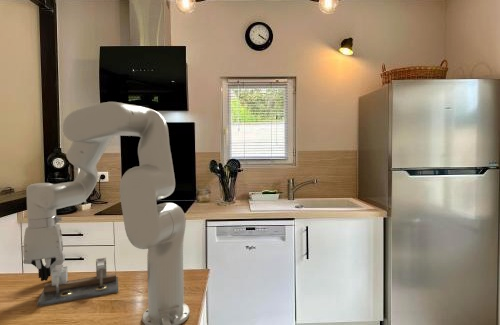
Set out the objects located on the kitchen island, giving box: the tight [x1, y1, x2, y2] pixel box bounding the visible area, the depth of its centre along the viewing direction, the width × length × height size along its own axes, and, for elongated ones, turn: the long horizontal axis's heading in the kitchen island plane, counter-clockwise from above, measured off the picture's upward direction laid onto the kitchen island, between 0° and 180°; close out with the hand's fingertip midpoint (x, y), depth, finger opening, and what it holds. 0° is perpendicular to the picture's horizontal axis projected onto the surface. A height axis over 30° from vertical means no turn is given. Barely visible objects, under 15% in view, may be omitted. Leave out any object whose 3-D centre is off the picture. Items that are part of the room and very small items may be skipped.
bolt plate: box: [37, 276, 119, 307], centre depth 101 cm, size 10×22×1 cm, turn 114°
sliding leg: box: [50, 264, 69, 294], centre depth 99 cm, size 7×4×7 cm, turn 24°
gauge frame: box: [43, 257, 117, 292], centre depth 102 cm, size 7×21×8 cm, turn 114°
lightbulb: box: [44, 250, 66, 272], centre depth 110 cm, size 6×6×11 cm
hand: (44, 279), depth 100 cm, fingers closed
